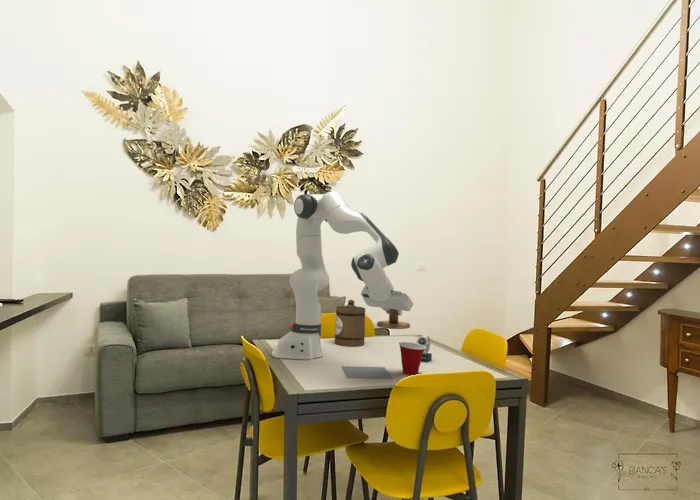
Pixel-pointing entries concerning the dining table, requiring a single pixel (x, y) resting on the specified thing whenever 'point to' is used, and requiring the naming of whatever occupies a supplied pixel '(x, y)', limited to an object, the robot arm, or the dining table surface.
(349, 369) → the rubber mat
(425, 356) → the grey black curved piece
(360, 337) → the wooden container
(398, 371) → the dining table surface
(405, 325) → the walnut lid
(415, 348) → the plastic cup
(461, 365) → the dining table surface
